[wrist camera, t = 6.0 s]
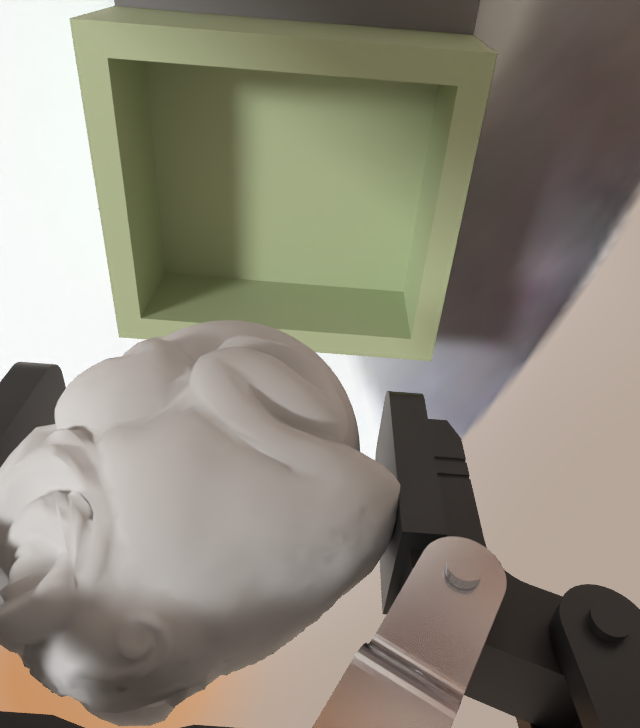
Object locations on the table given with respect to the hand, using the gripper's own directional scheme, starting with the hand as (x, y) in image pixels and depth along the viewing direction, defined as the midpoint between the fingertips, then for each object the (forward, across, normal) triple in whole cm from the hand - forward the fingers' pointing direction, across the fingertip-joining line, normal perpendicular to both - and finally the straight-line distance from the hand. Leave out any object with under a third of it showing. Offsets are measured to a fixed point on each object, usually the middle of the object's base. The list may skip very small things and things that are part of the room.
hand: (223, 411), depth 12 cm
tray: (+16, 0, -1) cm, 16 cm away
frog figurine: (+2, 0, 0) cm, 2 cm away
